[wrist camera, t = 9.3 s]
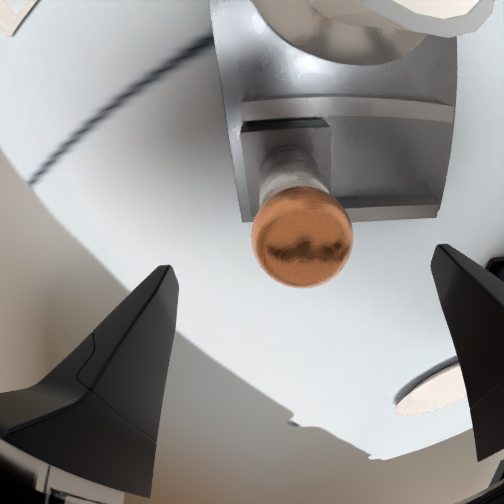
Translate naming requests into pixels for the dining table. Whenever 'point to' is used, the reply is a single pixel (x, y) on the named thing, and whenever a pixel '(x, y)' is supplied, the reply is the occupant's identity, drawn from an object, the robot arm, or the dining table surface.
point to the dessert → (12, 16)
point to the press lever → (294, 202)
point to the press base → (343, 100)
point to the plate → (434, 392)
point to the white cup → (410, 14)
